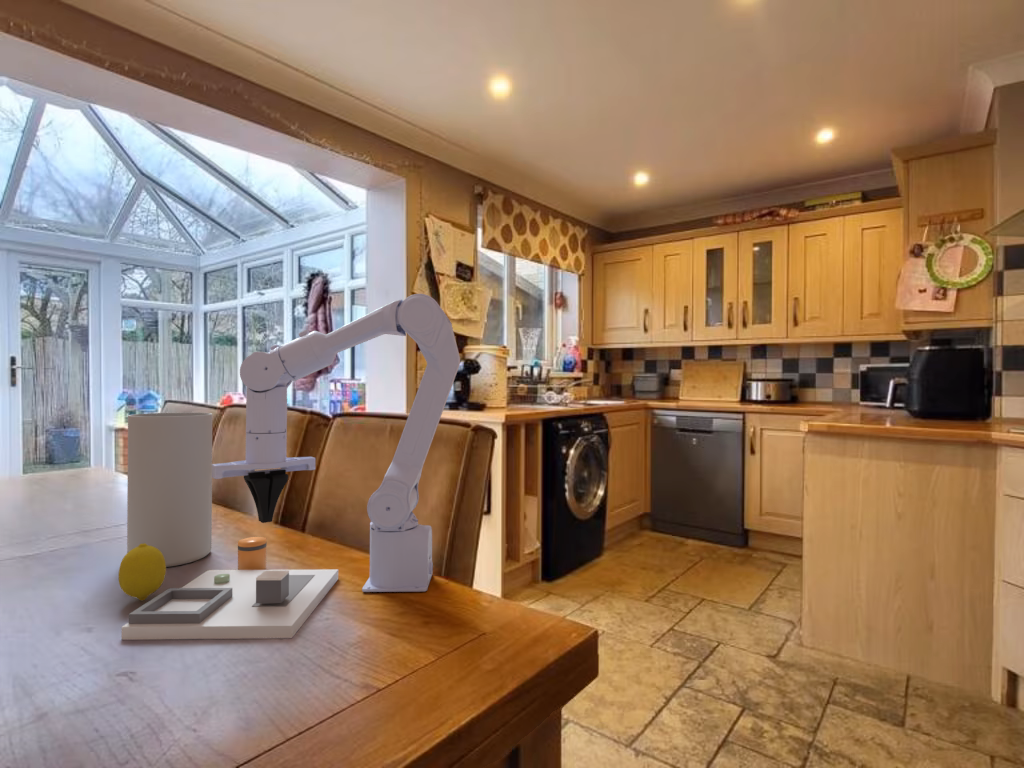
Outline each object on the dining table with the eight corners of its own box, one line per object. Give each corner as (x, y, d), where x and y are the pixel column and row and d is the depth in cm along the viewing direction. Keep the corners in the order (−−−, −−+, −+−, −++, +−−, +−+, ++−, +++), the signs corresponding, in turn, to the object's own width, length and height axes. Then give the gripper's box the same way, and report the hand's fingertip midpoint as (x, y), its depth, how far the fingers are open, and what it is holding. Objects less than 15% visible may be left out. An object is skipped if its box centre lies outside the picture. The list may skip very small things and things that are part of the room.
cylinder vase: (109, 563, 93) (110, 415, 93) (179, 543, 104) (180, 411, 104) (160, 574, 88) (161, 417, 88) (227, 551, 100) (228, 413, 99)
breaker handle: (288, 595, 74) (288, 570, 74) (280, 603, 72) (281, 577, 72) (264, 595, 74) (265, 570, 74) (255, 603, 72) (256, 578, 72)
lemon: (142, 610, 74) (142, 550, 74) (108, 606, 75) (108, 547, 75) (175, 594, 79) (175, 539, 79) (142, 591, 81) (143, 536, 81)
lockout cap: (270, 566, 92) (270, 536, 92) (259, 575, 88) (260, 544, 88) (244, 566, 92) (244, 536, 92) (232, 575, 87) (232, 544, 87)
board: (338, 578, 86) (338, 561, 86) (291, 638, 66) (291, 615, 66) (208, 579, 86) (208, 562, 86) (121, 639, 66) (121, 617, 66)
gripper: (304, 428, 92) (303, 509, 92) (207, 432, 82) (206, 523, 82) (321, 431, 86) (319, 517, 86) (219, 436, 77) (217, 533, 77)
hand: (265, 521), depth 84 cm, fingers closed
